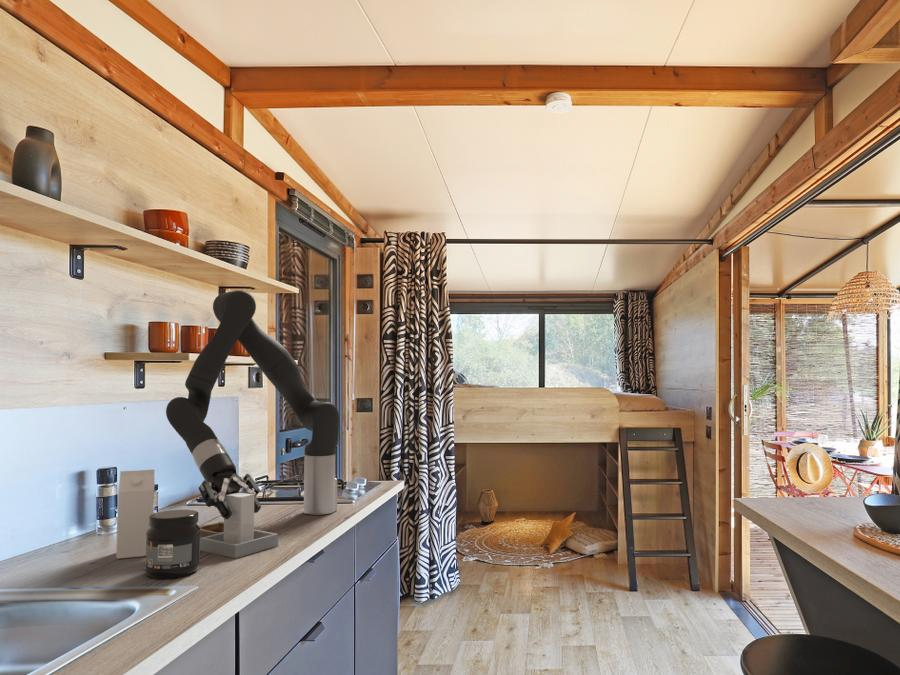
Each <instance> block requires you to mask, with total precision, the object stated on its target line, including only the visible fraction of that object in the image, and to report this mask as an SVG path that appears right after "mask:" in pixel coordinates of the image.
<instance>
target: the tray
mask: <svg viewBox="0 0 900 675" xmlns="http://www.w3.org/2000/svg"><path fill="white" fill-rule="evenodd" d="M278 546H279V533H275V532H270V531H269V532H268V531H264V530H258V529H254V540H250V541H247V542H243V543H239V544H232V543H227V542H224V532H223V533H220V532H219V534H215V535H211V536H207V537H203V538H200V552H201V551H202V552H204V553H209V554H214V555H219V556H223V557H226V558H227V557H229V558H232V559H237V558H238V559H239V558H241V557H245V556H248V555H251V554H255V553H258V552H261V551H264V550H268V549H271V548H276V547H278Z"/></svg>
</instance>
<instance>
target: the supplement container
mask: <svg viewBox="0 0 900 675" xmlns="http://www.w3.org/2000/svg"><path fill="white" fill-rule="evenodd" d="M199 514H200V513H199V512H198V511H197V510H193V509H169V510H168V509H167V510H162V511H158V512H157V511H156V512H154V514H151V515H150V516H149V526H150V528H149V529H148V531H147V532H146V556H145V565H144V566H145V567H144V573H145V575H147V576H148V577H150V578H153V579H158V580H159V579H160V580H164V579H165V580H166V579H167V580H168V579H177V578H181V577H184V576H188V575H192V574H193V573H195V572H196V571H197V570H198V569H199V567H200V562H201V561H200V552H201V551H200V532H201V528H200V526H201V525H199V524H198V522H199V517H200V515H199Z"/></svg>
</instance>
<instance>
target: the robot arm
mask: <svg viewBox="0 0 900 675" xmlns="http://www.w3.org/2000/svg"><path fill="white" fill-rule="evenodd" d="M256 309H257V304H256V300H255V298H254V296H253V295H252V294H251V293H250V292H247V291H245V290H242V289H241V290H239V289H238V290H231V291H228V292H223V293H220V294H218V295H217V296H216V297H215V299H214V300H213V303H212V310H213V314H214V316H215V318H216V320H218V321H219V324H218V327H217V329H216V331H215V332H214V334H213V335H212V337H211V339H210V340H209V341H208V342H207V344H206V345H204V346H205V347H203V349H202V350H201V351H200V353H199V354H198V356H197V358H196V359H195V361H194V363H193V365H192V367H191V369H190V371H189V373H188V375H187V377H186V380H185V383H184V386H185V388H186V389H187V391H188V396H187V397H183V396H177V397H174V398H172V399H171V400H170V401H169V402H168V403H167V406H166V407H165V415H166V419H167V421H168V422H169V424H170V425H171V427H172V428H173V429H174V430H175V432H176V433H177V434H178V435H179V437H180V438H182V440H183V441H184V442H185V444H186V447H187V448H188V450H189V452H190V454H191V455H192V457H193V460H194V462H195V465H196V466H197V468H198V470H199V472H200V474H201V476H202V477H203V479H204V480H203V481H202V482H201V484H200V485H199V487H198V491H199V493H200V495H201V497H202V499H203V501H204V503H205V505H206V507H208V508H211V507H214V508H216V509H217V510H218V513H219V514H220V516H221V517H222V518H223V520H224V519H225V520H226V519H229V518H230V516H231V515H232V512H231V510H230V509H229V507H228V505H227V503H226V502H225V501H224V497H225V495H227V494H233V493H245V494H254V514H257V513H258V512H260V510H261V509H262V504H261V502H260V501H259V499H258V498H257V496H258V494H259V493H260V492H261V489H260V488H259V486H258V484H257V483H256V481H255V480H254V478H253V477H252V475H251V474H249V473H245V475H244V476H241V475H238V473H237V469H236V468H237V467H236V465H235V463H234V461H233V460H232V458H231V457H230V455H229V453H228V451H227V450H226V449H225V447H224V446H223V444H222V442H220V440H219V438H218V437H217V435H216V434H215V432H214V430H213V429H212V428H211V427H210V426H209V425H207V423H205V422H204V421H205V420H206V418H207V415H208V411H209V407H210V402H211V397H212V392H213V389H214V387H215V385H216V382H217V381H218V378H219V376H220V374H221V371H222V370H223V367H224V366H225V363H226V361H227V360H228V357H229V356H230V354H231V352H232V350H233V348H234V346H235V345H236V343H237V342H239V343H240V344H241V345H242V347H243V348H244V350H245V351H246V353H248V355H249V356H250V358H251V359H252V360H253V361H254V362H255V364H256V365H257V366H258V368H259V369H260V370H261V372H262V374H264V375H265V377H266V378H267V379H268V380H269V381H270V382H271V384H272V385H273V386H274V388H275V389H276V390H277V391H278V392H279V394H280V395H281V396H282V397H283V398H284V399H285V401H286V402H287V403H288V404H289V407H290V408H291V410H292V411H293V412H294V414H295V416H296V417H297V419H298V421H299V422H300V423H301V425H302V427H304V429H306V430H308V431H311V435H312V436H311V440H310V442H309V443H307V444H305V447H304V457H303V458H304V460H303V461H304V465H303V466H304V470H303V471H304V474H303V481H304V482H303V484H304V485H303V513H304V514H306V515H313V516H314V515H315V516H317V515H318V516H320V515H328V514H332V513H334V512H335V511H338V478H336V448H338V445H339V444H338V443H339V438H340V437H339V435H340V413H339V410H338V407H337V406H336V405H335V403H332V402H329V401H318V400H317V399H316V398H315V397H314V396H313V395H312V394H311V393H310V392H309V390H308V389H307V388H306V386H305V384H304V382H303V378H302V375H301V371H300V367H299V365H298V363H297V362H296V360H295V359H294V357H293V356H292V355H291V354H290V353H289V351H288V349H286V347H285V346H283V345H282V344H281V343H280V342H279V341H278V340H277V339H275V338H274V337H272V336H271V335H269V334H268V333H267V332H266V331H264V330H263V329H262V328H260V327H259V325H258V324H257V323H256V322H255V320H254V319H253V317H254V315H255V314H256ZM241 489H242V490H241ZM240 490H241V491H240ZM214 492H215V494H214Z"/></svg>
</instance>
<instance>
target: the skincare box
mask: <svg viewBox="0 0 900 675" xmlns="http://www.w3.org/2000/svg"><path fill="white" fill-rule="evenodd" d="M224 501H225V502H226V503H227V505H228V507H229V509H230V510H231V512H232V515H231V516H230V518H229V519H226V520H225V519H224V518H223V522H224V542H227V543H232V544H239V543H243V542H247V541H250V540H254V530H255V513H254V494H248V493H246V492H245V493H233V494H227V495H225V497H224ZM224 501H223V502H224Z"/></svg>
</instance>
